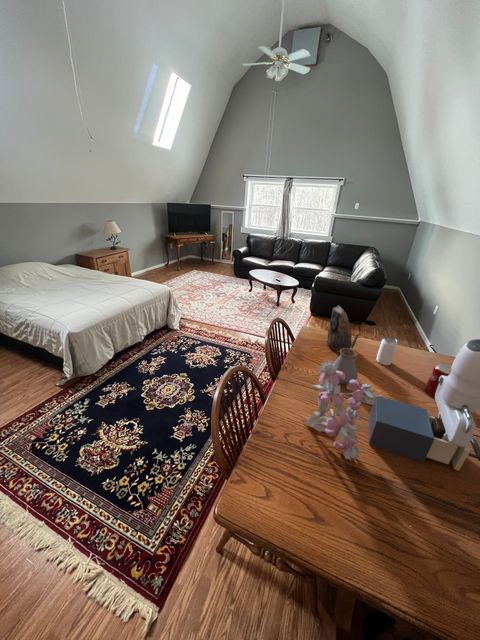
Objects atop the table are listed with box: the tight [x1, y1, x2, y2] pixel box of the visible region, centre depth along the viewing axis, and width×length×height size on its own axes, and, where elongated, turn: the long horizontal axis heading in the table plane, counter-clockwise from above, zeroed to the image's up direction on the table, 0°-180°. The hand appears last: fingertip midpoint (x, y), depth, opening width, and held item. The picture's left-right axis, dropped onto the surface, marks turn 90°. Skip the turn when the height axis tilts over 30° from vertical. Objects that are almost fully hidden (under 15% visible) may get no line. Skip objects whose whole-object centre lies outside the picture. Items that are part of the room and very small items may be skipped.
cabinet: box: [368, 394, 435, 463], centre depth 83 cm, size 15×13×10 cm
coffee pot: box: [332, 333, 360, 385], centre depth 113 cm, size 21×12×15 cm, turn 146°
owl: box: [326, 304, 353, 353], centre depth 134 cm, size 13×13×20 cm
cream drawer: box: [426, 414, 480, 471], centre depth 79 cm, size 18×11×8 cm, turn 66°
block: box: [431, 416, 446, 439], centre depth 78 cm, size 5×5×5 cm
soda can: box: [424, 363, 452, 399], centre depth 104 cm, size 7×7×12 cm
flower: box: [301, 357, 382, 464], centre depth 80 cm, size 20×22×25 cm
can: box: [375, 336, 398, 366], centre depth 123 cm, size 6×6×12 cm
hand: (442, 432), depth 78 cm, fingers closed on block, 4 cm apart
